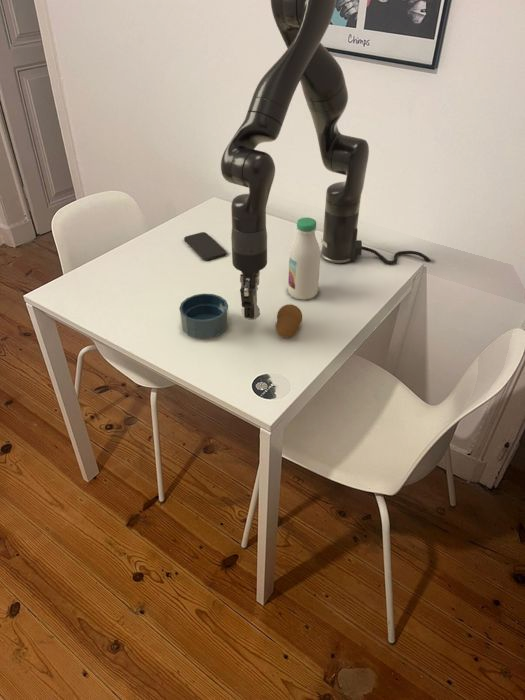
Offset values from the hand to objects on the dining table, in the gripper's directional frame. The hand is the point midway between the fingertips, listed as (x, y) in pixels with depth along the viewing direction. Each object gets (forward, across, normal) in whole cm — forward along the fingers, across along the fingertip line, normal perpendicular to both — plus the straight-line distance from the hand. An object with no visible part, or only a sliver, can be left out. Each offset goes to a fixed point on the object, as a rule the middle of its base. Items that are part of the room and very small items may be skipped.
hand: (250, 310), depth 123 cm
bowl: (+5, 0, +11) cm, 12 cm away
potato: (+5, 0, -9) cm, 10 cm away
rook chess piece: (+1, 0, 0) cm, 1 cm away
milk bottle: (+5, +17, -12) cm, 21 cm away
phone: (+5, +38, +18) cm, 43 cm away
